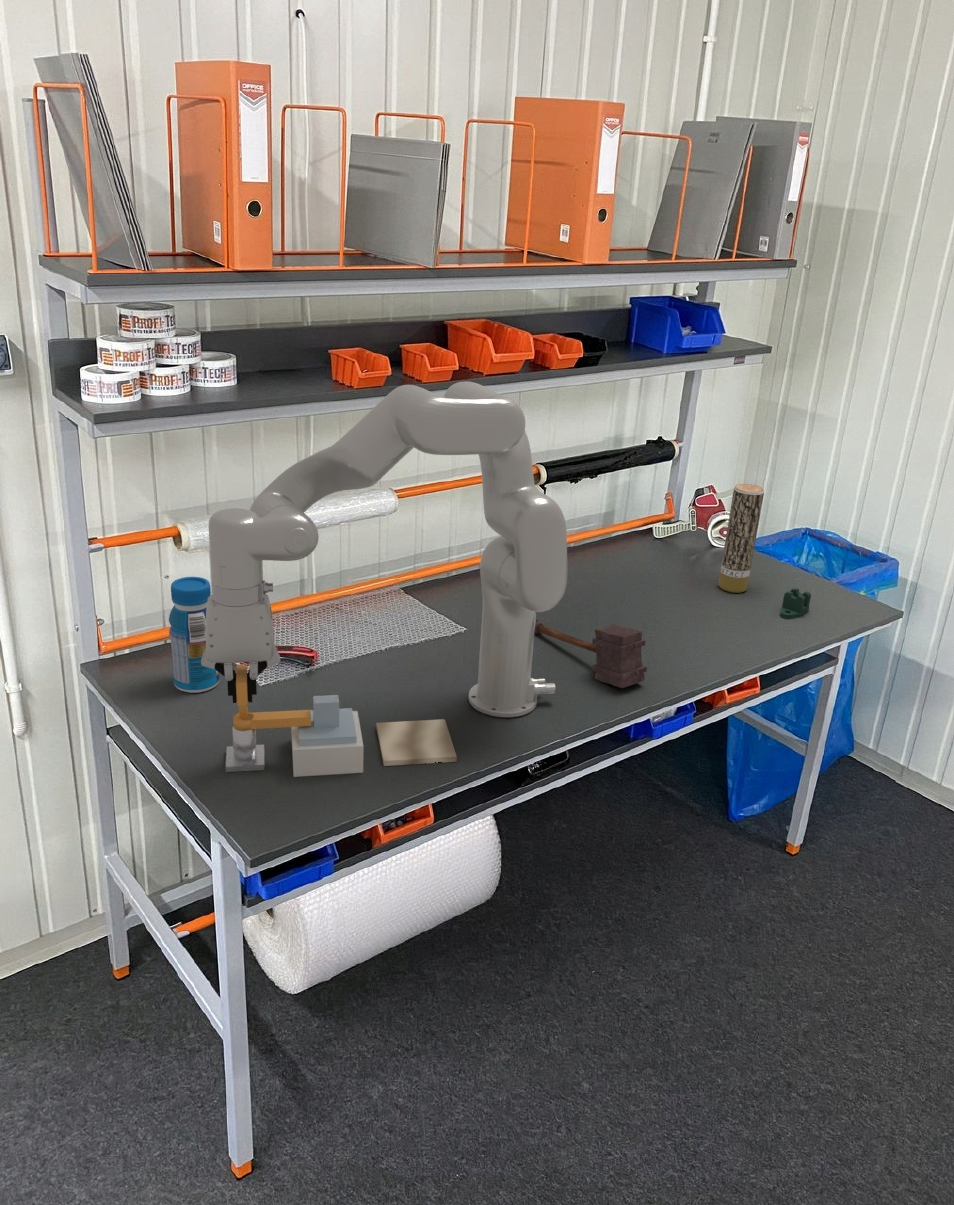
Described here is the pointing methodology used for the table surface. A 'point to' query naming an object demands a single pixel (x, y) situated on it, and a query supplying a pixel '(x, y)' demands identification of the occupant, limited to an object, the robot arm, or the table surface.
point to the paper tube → (741, 537)
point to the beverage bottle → (190, 635)
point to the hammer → (610, 653)
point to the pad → (415, 742)
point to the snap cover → (328, 723)
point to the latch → (263, 719)
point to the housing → (327, 756)
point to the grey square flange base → (244, 752)
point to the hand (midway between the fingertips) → (242, 697)
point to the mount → (795, 604)
